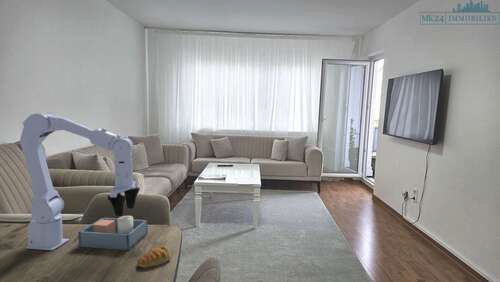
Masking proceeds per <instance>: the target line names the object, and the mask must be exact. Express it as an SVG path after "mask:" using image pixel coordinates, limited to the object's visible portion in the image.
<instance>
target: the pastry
mask: <svg viewBox="0 0 500 282" xmlns="http://www.w3.org/2000/svg"><path fill="white" fill-rule="evenodd" d="M170 260H171V254H170V252H169V250H168V248H167V247H166V246H163V245H160V246H159V247H156V248H153V249H150V250H148V251H147V252H146V253H145V254H143V255H141V256H140V257H139V258H138V259H137V264H136V265H137V266H138V267H140V268H143V269H147V268H152V267H157V266H159V265H163V264H165V263H167V262H169V261H170Z"/></svg>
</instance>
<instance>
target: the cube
mask: <svg viewBox="0 0 500 282" xmlns="http://www.w3.org/2000/svg"><path fill="white" fill-rule="evenodd" d="M93 232H99V233H114V234H115V220H100V221H99V222H97V223H95V224H94V225H93Z"/></svg>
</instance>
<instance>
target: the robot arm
mask: <svg viewBox="0 0 500 282" xmlns="http://www.w3.org/2000/svg"><path fill="white" fill-rule="evenodd" d="M22 124H23V125H22V126H23V128H22V132H21V135H20V139H19V143H20V147H21V150H22V153H23V158H24V161H25V166H26V169H27V173H28V175H29V180H30V182H31V187H32V190H33V197H32V199H31V202H30V203H31V211H30V214H31V216H30V217H31V218H32V219H31V220H30V222H29V223H28V226H27V229H26V231H27V242H28V243H27V246H26V247H25V248H26V249H28V250H30V249H31V250H43V251H54V250H55V249H56V248H57V249H58V248H59V247H61V246H62V245H64V244H65V243H67V242H69V241H70V239H69V238H66V237H65V238H64V235H63V217H62V216H63V215H62V214H61V212H62V211H63V210H64V207H65V202H64V200H63V199H62V197H60V194H59V192H58V190H56V189H55V188H54V185H53V182H52V181H53V180H52V178H51V174H50V169H49V167H48V163H47V160H46V159H47V158H46V156H45V151H44V147H43V144H42V143H43V142H44V141H45V140H46V139H47V137H49V136H50V134H53V133H54V132H56V131H66V132H68V133H71V134H75V135H77V136H80V137H83V138H87V139H89V141H90V144H91V145H94V146H96V147H99V148H101V149H104V150H107V151H109V152H112V153H113V154H114V162H113V164H114V187H112V189H111V190H110V191H109V195H107V200H108V201H109V202H110V205H112V208H113V213H114V214H115V217H117V216H118V217H122V216H124V205H125V202H126V208H127V209H134V207H135V204H136V199H137V197H138V194H139V192H140V187H139V186H138V181H137V180H134V172H133V170H134V168H133V165H134V164H133V153H132V151H133V149H134V142H133V141H132V140H131V139H130V138H129V137H127V136H123V137H122V136H121V134H119V133H117V134H115V133H113V132H110V131H108V129H107V128H105V127H103V128H99V127H98V128H96V129H92V128H90V127H87V126H85V125H83V124H81V123H78V122H76V121H74V120H72V119H69V118H67V117H65V116H63V115H57V114H55V113H52V112H47V113H33V114H30V115H29V116H28V117H27V118H26V119H25V120H24V121H23V122H22ZM122 194H124V195H122Z"/></svg>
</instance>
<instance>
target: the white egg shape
mask: <svg viewBox="0 0 500 282" xmlns="http://www.w3.org/2000/svg"><path fill="white" fill-rule="evenodd" d="M133 219H134V217H133V216H132V215H122V216H118V234H129V233H130V232H131V231H132V230H133Z"/></svg>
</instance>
